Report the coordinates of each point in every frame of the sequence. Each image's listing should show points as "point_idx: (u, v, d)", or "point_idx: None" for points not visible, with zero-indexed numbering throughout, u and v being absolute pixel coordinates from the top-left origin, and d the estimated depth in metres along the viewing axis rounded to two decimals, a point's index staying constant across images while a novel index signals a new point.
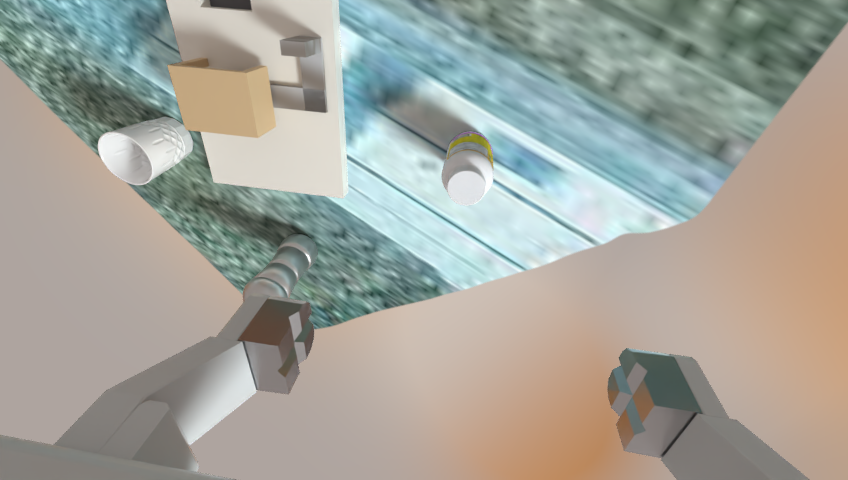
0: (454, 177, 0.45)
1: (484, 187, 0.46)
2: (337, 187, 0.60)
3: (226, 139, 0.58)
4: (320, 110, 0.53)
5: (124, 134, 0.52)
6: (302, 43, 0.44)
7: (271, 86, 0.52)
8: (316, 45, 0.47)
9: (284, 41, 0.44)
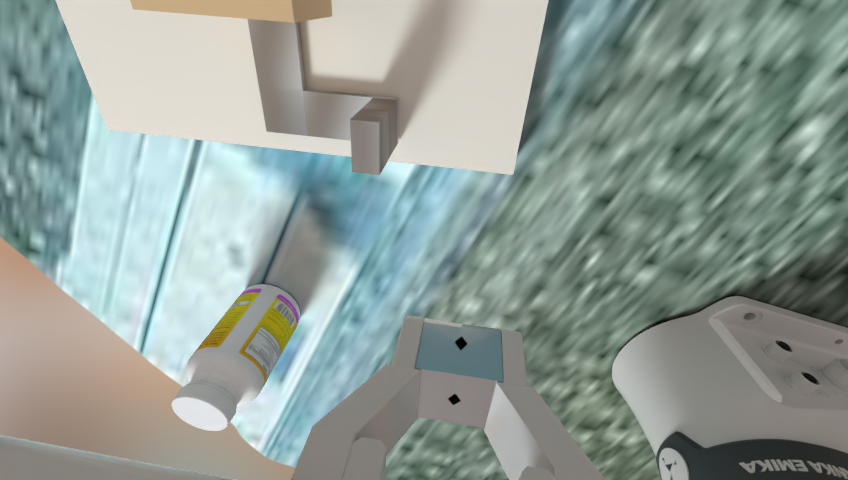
0: (210, 406, 0.30)
1: (211, 430, 0.32)
2: (124, 120, 0.29)
3: None
4: (268, 120, 0.26)
5: None
6: (377, 170, 0.22)
7: None
8: None
9: (377, 133, 0.21)
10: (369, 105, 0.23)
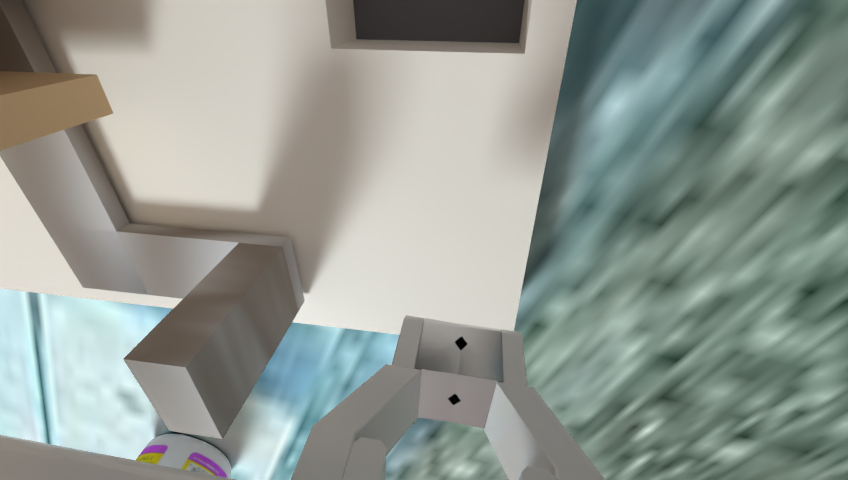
0: None
1: None
2: None
3: None
4: (79, 273, 0.15)
5: None
6: (215, 433, 0.10)
7: None
8: None
9: (190, 381, 0.09)
10: (212, 277, 0.12)
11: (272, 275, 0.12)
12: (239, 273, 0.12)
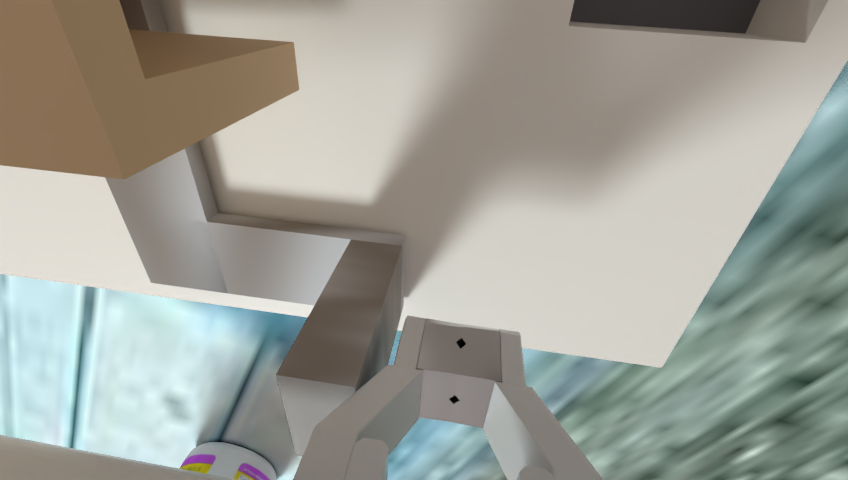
0: None
1: None
2: None
3: None
4: (150, 266, 0.14)
5: None
6: None
7: None
8: None
9: None
10: (339, 279, 0.10)
11: (395, 277, 0.11)
12: (367, 274, 0.10)
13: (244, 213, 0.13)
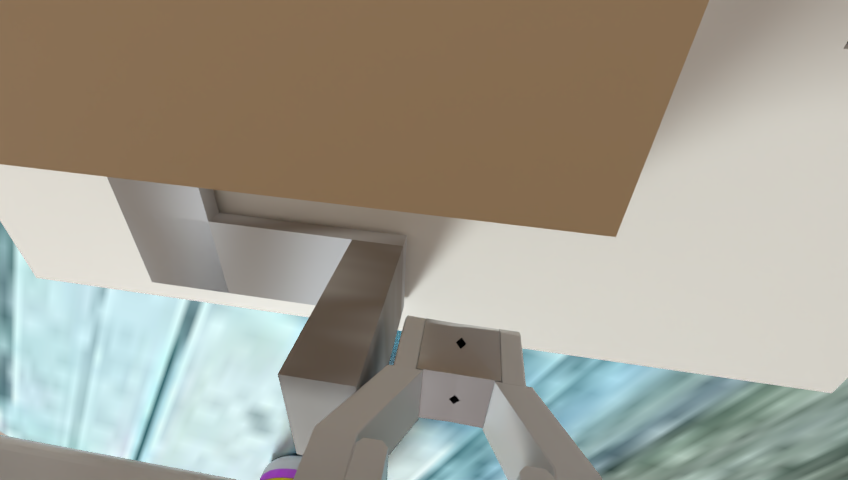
0: None
1: None
2: (65, 266, 0.15)
3: None
4: (151, 266, 0.14)
5: None
6: None
7: None
8: None
9: None
10: (340, 279, 0.10)
11: (396, 278, 0.11)
12: (369, 274, 0.10)
13: (416, 234, 0.12)
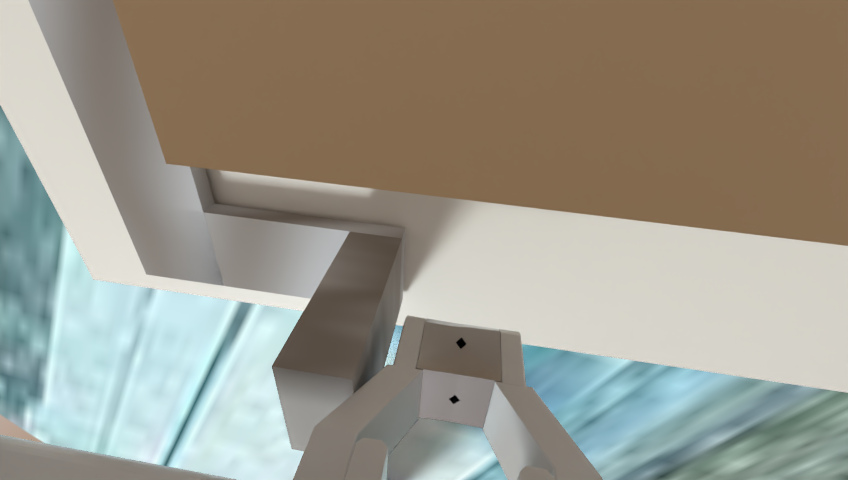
0: None
1: None
2: (126, 268, 0.15)
3: None
4: (145, 258, 0.13)
5: None
6: None
7: None
8: None
9: (349, 396, 0.08)
10: (337, 270, 0.10)
11: (395, 270, 0.11)
12: (366, 266, 0.10)
13: (507, 238, 0.12)
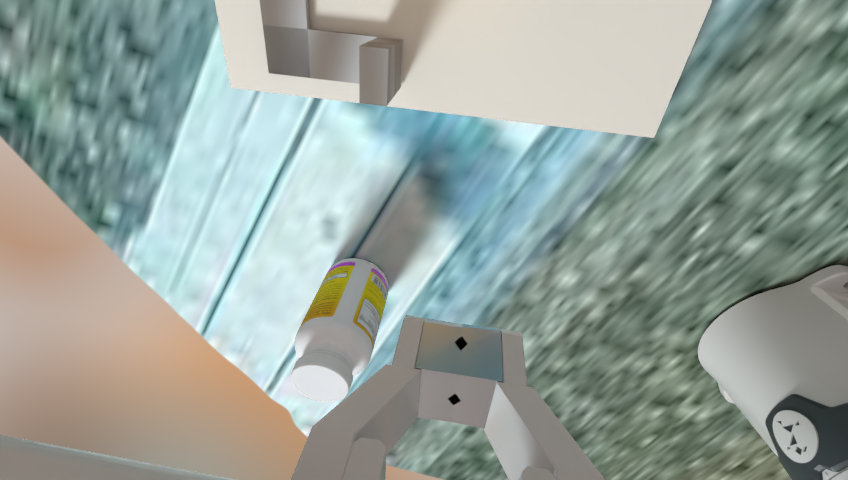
0: (335, 374, 0.29)
1: (326, 401, 0.31)
2: (252, 77, 0.28)
3: None
4: (270, 61, 0.26)
5: None
6: (384, 101, 0.22)
7: None
8: None
9: (386, 60, 0.21)
10: (376, 40, 0.23)
11: (399, 49, 0.24)
12: (388, 40, 0.23)
13: (452, 44, 0.25)
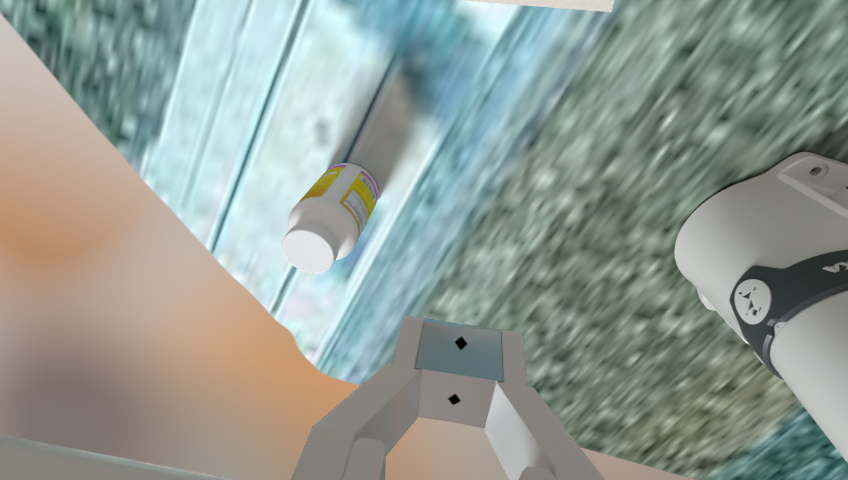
0: (320, 240, 0.32)
1: (314, 272, 0.34)
2: None
3: None
4: None
5: None
6: None
7: None
8: None
9: None
10: None
11: None
12: None
13: None
